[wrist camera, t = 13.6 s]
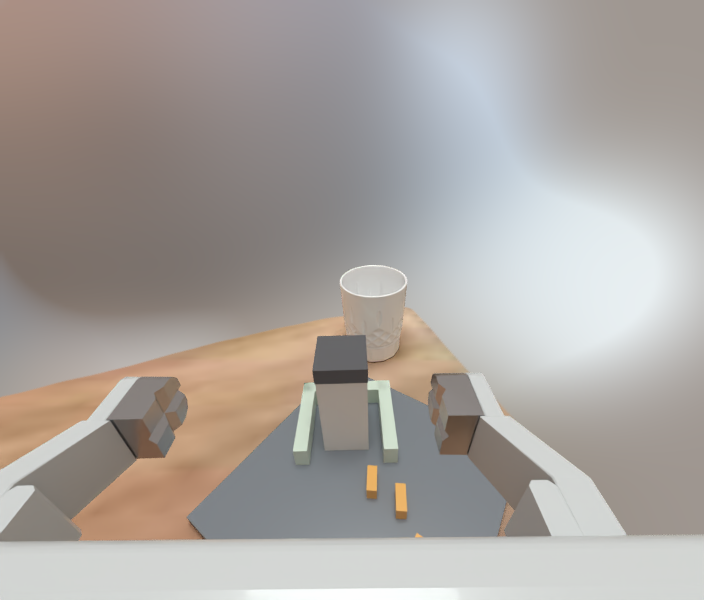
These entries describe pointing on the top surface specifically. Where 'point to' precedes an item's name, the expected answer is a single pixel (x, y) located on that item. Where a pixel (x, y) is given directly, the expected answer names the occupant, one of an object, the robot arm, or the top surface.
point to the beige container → (342, 391)
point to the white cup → (374, 307)
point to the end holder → (376, 394)
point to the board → (353, 488)
